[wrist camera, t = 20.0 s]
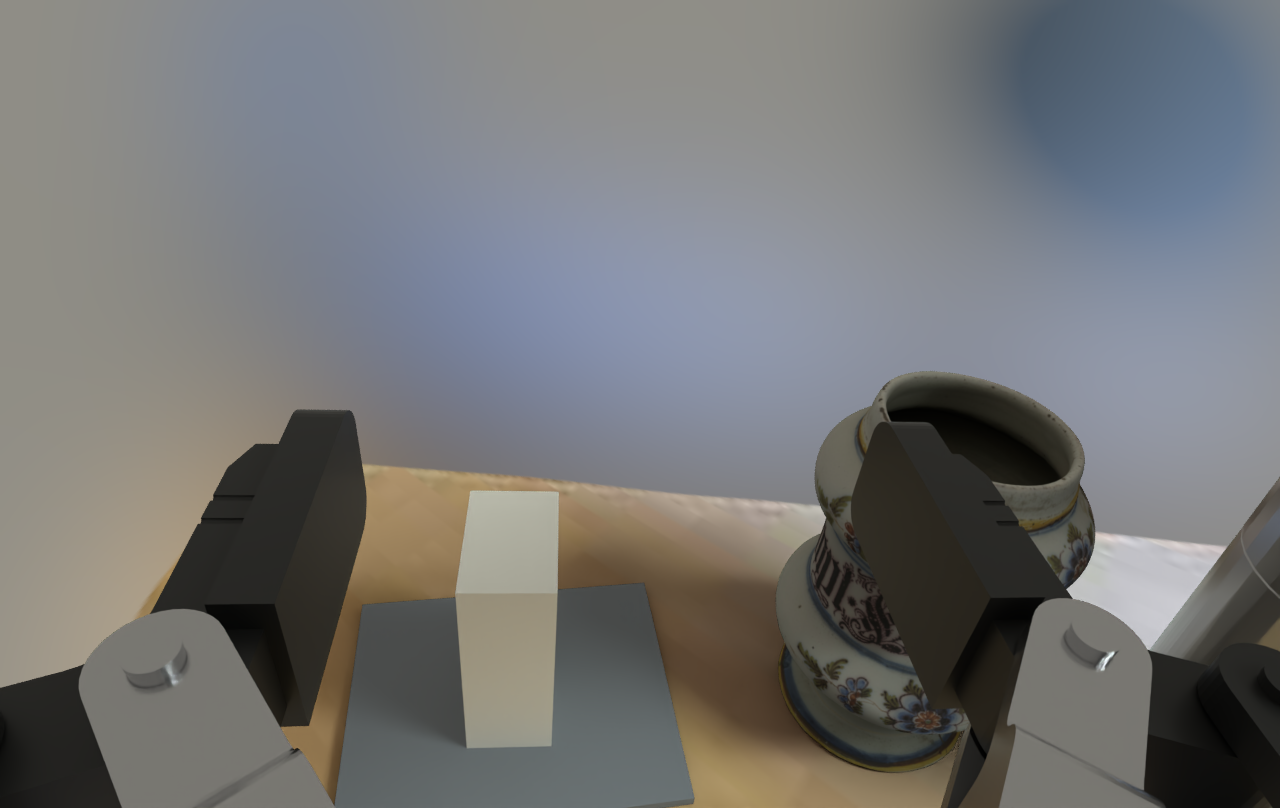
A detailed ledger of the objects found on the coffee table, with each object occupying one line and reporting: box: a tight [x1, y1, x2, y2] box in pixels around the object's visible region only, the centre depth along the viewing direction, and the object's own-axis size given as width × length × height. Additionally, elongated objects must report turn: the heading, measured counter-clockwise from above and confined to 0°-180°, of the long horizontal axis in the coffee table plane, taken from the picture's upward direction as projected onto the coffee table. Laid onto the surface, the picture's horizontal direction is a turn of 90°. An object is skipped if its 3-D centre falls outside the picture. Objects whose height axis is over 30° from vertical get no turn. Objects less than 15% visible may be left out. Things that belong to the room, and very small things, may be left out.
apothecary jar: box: [776, 371, 1095, 772], centre depth 37 cm, size 12×12×18 cm
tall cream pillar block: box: [455, 491, 559, 748], centre depth 36 cm, size 4×6×11 cm, turn 4°
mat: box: [334, 583, 694, 808], centre depth 39 cm, size 16×13×1 cm
